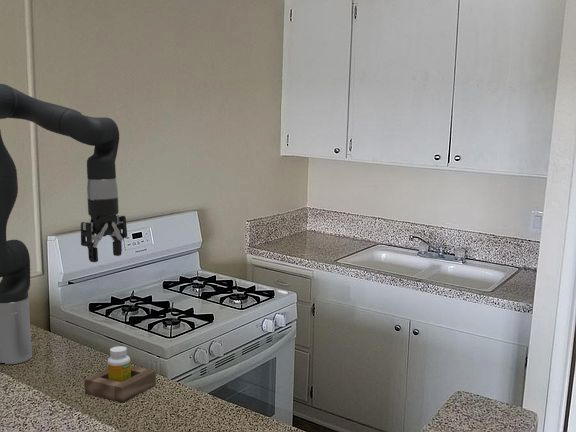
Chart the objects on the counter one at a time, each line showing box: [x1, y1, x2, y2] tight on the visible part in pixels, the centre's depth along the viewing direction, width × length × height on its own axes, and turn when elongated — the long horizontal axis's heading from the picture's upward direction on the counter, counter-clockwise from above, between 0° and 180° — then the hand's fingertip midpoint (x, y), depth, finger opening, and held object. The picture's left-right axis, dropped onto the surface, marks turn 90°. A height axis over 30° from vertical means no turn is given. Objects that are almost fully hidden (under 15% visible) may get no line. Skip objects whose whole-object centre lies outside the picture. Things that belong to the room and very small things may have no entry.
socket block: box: [83, 365, 157, 403], centre depth 164 cm, size 12×12×4 cm
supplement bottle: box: [107, 345, 132, 382], centre depth 163 cm, size 5×5×10 cm
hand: (105, 258), depth 172 cm, fingers open, 8 cm apart
